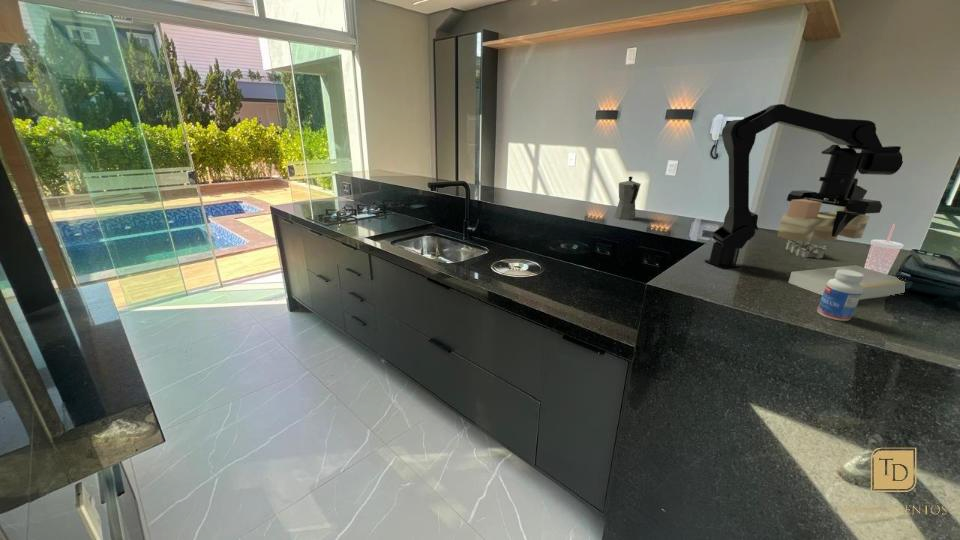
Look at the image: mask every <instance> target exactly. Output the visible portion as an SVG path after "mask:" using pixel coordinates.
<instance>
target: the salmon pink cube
mask: <svg viewBox="0 0 960 540" xmlns="http://www.w3.org/2000/svg"><path fill="white" fill-rule="evenodd" d="M822 204H823V203H822V202H817V201H811V200H805V199H797V200H791V201H790V204H789V208H788V211H787V213H786V214H787V215H790V216H794V217H799V218H804V219H808V218H817V216H818V213H819V212H820V209H821V206H822Z"/></svg>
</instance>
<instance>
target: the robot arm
mask: <svg viewBox="0 0 960 540" xmlns="http://www.w3.org/2000/svg"><path fill="white" fill-rule="evenodd" d="M775 124H780V125H784V126H789V127H792V128H795V129H799V130H803V131H807V132H811V133H816V134H817V135H820V136H822V137H823V138H825V139H826V140H828V141H830V142H832V143H834V144H832V145H830V146H829V147H828V148H826V149H824V150H822V151H821V155H830V157H829V160H828V164H827V167H826V170H825V173H824V176H820V177H819V180H818V181H819V182H821V185H820V188H819V191H818V192H817V191H811V190H805V189H804V190H792V191H790V192H789V193H788V194H787V197H786V201H787V202H791V200H797V199H805V200H811V201H817V202H822V204H823V205H829V206H836V207H837V206H841V207H845V209H844V211H837V214H836V218H835V222H834V227H833V231H832V237H836V236H837V235H838V234H839V233H840V232H841V231H842V230H843V229H844V228H845V226H846V225H847V224H848V223H849V222H850V221H851V220H853V219H854V218H855V217H857V216H858V215H863V214H865V215H867V214H880V213H881V211H882V208H883V205H882V202H881V201H880V200H877V199H876V200H874V199H868V198H865V196H866V194H867V193H868V190H867V189H865V188H863V187H861V186H859V185H858V183H859V180H858V179H859V178H858V177H857V178H855V177H856V174H857V172H858V173H859V174H860V175H876V176H879V175H880V176H881V175H882V176H891V175H895V174H896V173H897V172H898V171H899V170H900V169H901V167H902V165H903V162H904V161H903V155H902V153H901V152H900V151H901V148H902V146H901V145H900V146H897V145H888V146H883V145H882V143H881V141H880V139H879V136H878V135H877V127H876V123H875V122H874V121H871V120H866V119H853V118H834V117H831V116H827V115H822V114H819V113H815V112H811V111H807V110H803V109H799V108H796V107H792V106H788V105H786V104H784V103H778V104H772V105H769V106H768V107H766V108H764V109H762V110H760V111H758V112H755V113H753V114H751V115H748V116H746V117H744V118H742V119H733V120H731V121H728V122H727V123H726V124H725V125H724V126H723V128H722V130H721V139H722V142H723V146H724V149H725V150H726V151H725V152H726V153H727V157H728V209H727V211H726V214H725V216H724V219H723V224H722V226H721V227H719V228H718V229H716V230H715V231H713V232H712V233H711V234H712V239H713V240H714V241H715V242H713V244H712V249H711V252H710V256H709V259H705V260H704V262H706V263H708V264H710V265H713V266H716V267H718V268H721V269H729V268H730V269H732V268H740V267H741V265H740V264H738V263H737V262H738V257H739V254H740V249H741V250H742V249H743V248H744V247H745V245H746V243H747V242H748V241H750V240H751V239H752V238H753V237H755V234H756V230H757V231H758V230H759V227H758V218H759V216H758V213H755V212H752V211H750V206H749V204H750V203H749V202H750V200H749V199H750V198H749V197H750V154H751V151H752V149H753V147H754V145H755V142H756V137H757V134H758V133H761V132H763V131H765V130H766V129H768V128H769V127H771V126H772V125H775ZM840 146H846V147H840ZM856 150H861V151H860V152H857V151H856ZM847 199H851V200H847ZM838 236H839V235H838Z"/></svg>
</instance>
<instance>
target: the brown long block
mask: <svg viewBox="0 0 960 540" xmlns="http://www.w3.org/2000/svg"><path fill="white" fill-rule="evenodd" d="M835 211H836V210H835ZM835 211H819V213H818V216H817V218H808V219H804V218H799V217H794V216H790V215H787V214H788V213H784V214H783V215H782V218H781V221H780V223H779V227H778V231H777V235H776V237H778V238H783V239H786V240H787V239H790V240H793V241H797V242H801V243H807V242H809V243H811V242H812V239H813V238H815V239H821V240H824V241H828V242H829V241H837V239H838V237H839V236H841V237H845V238H848V239H854V240H855V239H862V237H863V234H864V232H865V229H866V227H867V224H868V221H869V219H870V215H867V214H865V215H859V216H857V217H855V218H854V219H853V220H851V221H850V222H849V223H848V224H847V225H846V226H845V228H844V229H843V230H842V231H841V232H840V233H839V234H838V235H837V236H836V237H832V231H833V227H834V222H835V218H836V214H837V213H836V212H835Z"/></svg>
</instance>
